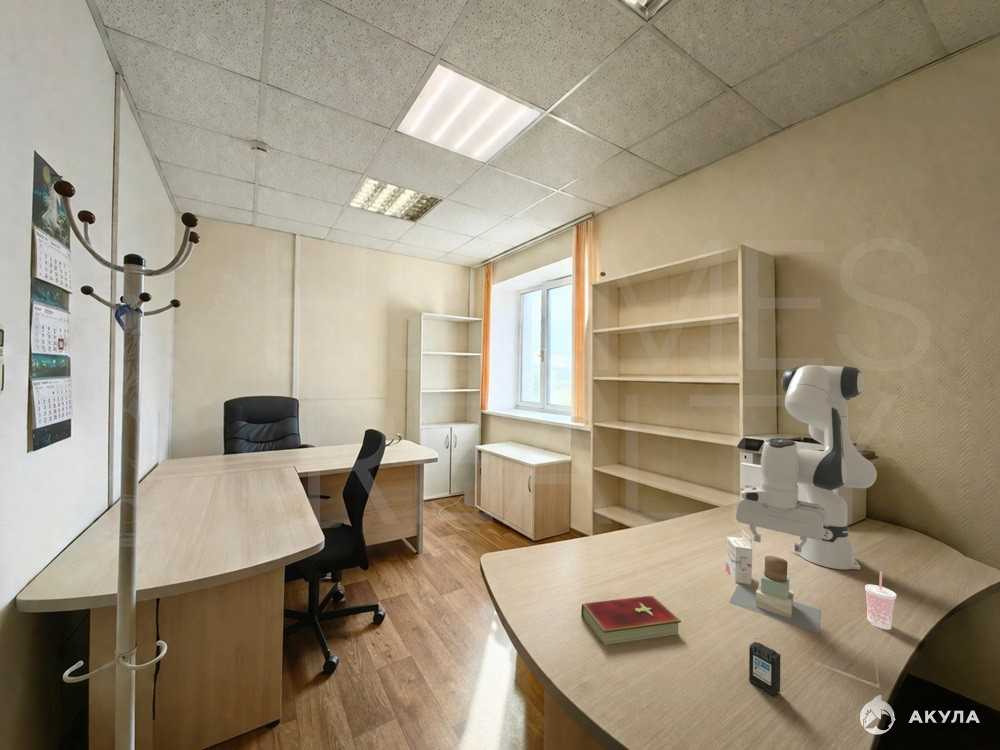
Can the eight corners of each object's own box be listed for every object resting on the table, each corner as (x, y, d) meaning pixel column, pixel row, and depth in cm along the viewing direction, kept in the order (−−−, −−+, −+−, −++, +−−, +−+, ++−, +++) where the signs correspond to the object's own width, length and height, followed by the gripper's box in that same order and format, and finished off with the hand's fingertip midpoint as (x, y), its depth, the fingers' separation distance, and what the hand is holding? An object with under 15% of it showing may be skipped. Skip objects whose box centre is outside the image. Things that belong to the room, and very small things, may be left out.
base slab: (759, 594, 118) (760, 581, 118) (793, 605, 113) (793, 591, 113) (755, 606, 112) (755, 592, 112) (790, 618, 107) (791, 603, 107)
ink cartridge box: (724, 571, 133) (726, 527, 133) (741, 573, 132) (742, 528, 132) (734, 584, 125) (736, 537, 125) (751, 586, 124) (753, 538, 124)
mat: (738, 585, 124) (738, 583, 124) (820, 611, 111) (820, 610, 111) (728, 603, 114) (728, 602, 114) (818, 635, 101) (818, 633, 101)
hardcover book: (581, 617, 106) (581, 601, 106) (650, 608, 111) (651, 593, 111) (603, 648, 94) (604, 630, 94) (680, 636, 99) (680, 619, 99)
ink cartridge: (748, 681, 84) (749, 643, 85) (754, 677, 86) (754, 640, 86) (774, 697, 80) (775, 657, 80) (780, 693, 81) (780, 653, 82)
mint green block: (763, 583, 117) (764, 570, 117) (789, 591, 113) (789, 577, 113) (760, 591, 112) (761, 577, 112) (786, 600, 108) (787, 585, 108)
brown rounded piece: (765, 571, 116) (766, 554, 116) (787, 577, 113) (788, 559, 113) (763, 577, 112) (763, 559, 112) (785, 584, 109) (786, 566, 109)
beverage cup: (898, 634, 102) (900, 579, 102) (866, 625, 106) (868, 572, 106) (891, 622, 108) (893, 570, 108) (861, 614, 111) (863, 563, 111)
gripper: (826, 502, 108) (825, 553, 108) (739, 487, 121) (738, 532, 121) (825, 508, 103) (824, 562, 103) (735, 491, 116) (734, 539, 117)
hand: (777, 546), depth 113 cm, fingers open, 8 cm apart
